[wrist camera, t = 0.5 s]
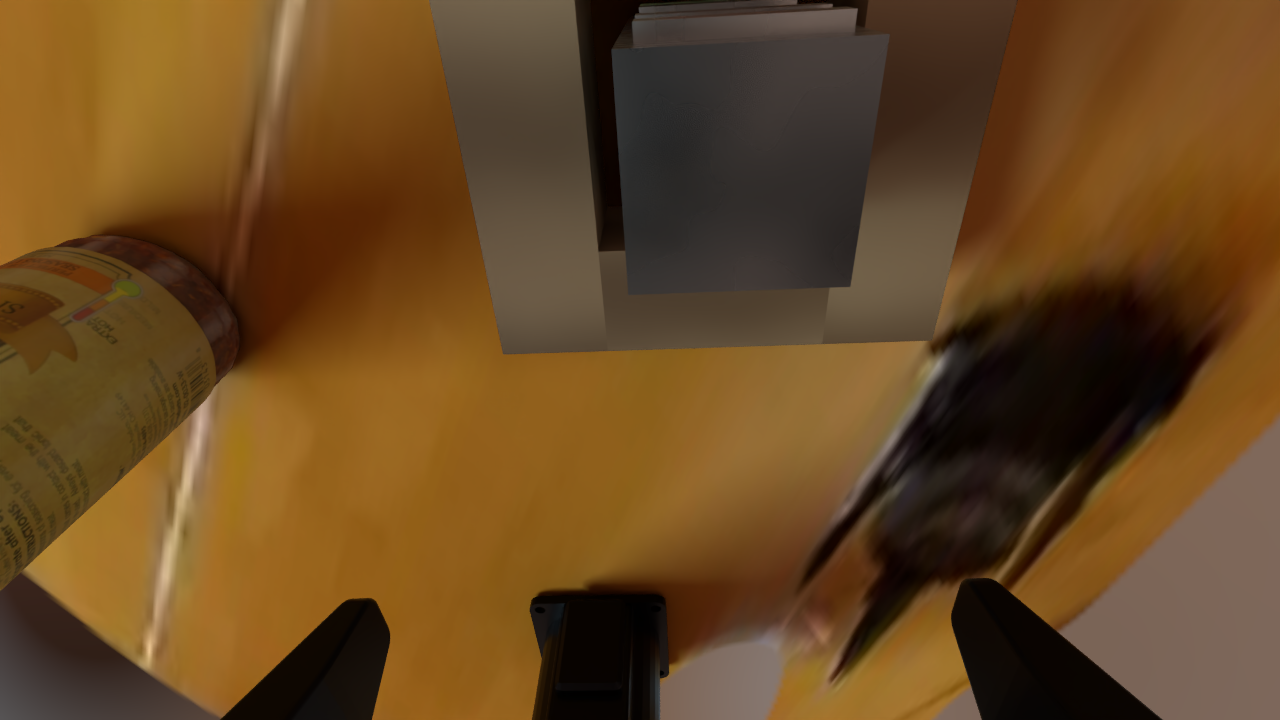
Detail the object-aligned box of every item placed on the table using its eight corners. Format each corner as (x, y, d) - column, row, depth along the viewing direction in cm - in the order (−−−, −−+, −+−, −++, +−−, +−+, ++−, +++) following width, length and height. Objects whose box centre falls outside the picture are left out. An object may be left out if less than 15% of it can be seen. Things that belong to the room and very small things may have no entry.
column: (774, 176, 18) (847, 301, 11) (638, 182, 18) (629, 309, 11) (786, -7, 15) (893, 9, 8) (629, 2, 15) (609, 25, 9)
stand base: (890, 285, 19) (950, 364, 15) (525, 298, 20) (493, 378, 16) (995, -257, 13) (1152, -363, 9) (436, -215, 13) (341, -296, 9)
